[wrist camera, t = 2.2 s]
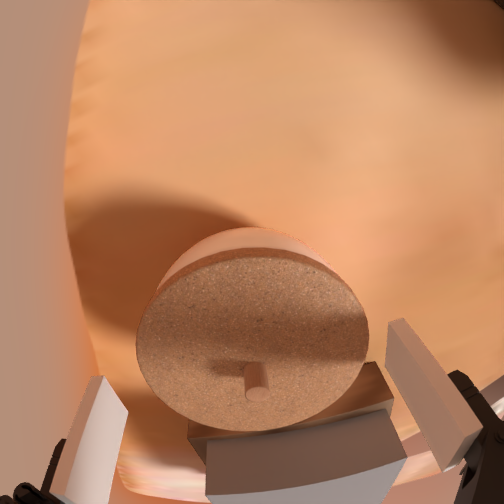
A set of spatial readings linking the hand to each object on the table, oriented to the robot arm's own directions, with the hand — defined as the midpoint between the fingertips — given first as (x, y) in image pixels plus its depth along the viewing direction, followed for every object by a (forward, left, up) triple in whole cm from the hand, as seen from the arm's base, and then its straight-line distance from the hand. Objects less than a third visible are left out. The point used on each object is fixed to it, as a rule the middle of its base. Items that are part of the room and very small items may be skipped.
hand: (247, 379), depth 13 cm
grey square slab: (-2, +18, -4) cm, 18 cm away
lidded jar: (0, 0, -8) cm, 8 cm away
